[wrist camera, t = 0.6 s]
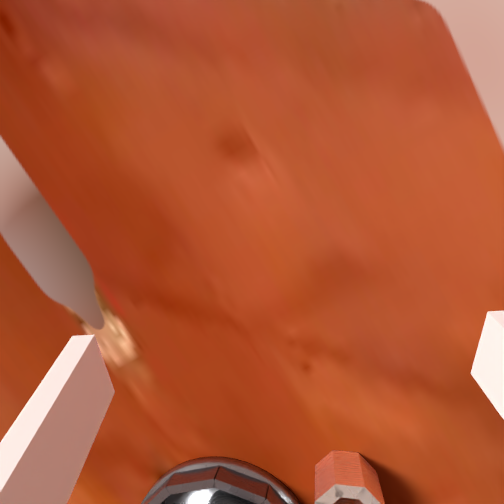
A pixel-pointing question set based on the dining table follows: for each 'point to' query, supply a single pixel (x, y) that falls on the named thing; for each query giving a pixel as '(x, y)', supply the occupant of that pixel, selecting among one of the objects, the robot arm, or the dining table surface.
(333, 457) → the octagonal hollow container
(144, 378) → the dining table surface
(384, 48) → the dining table surface
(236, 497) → the carrier
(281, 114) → the dining table surface
